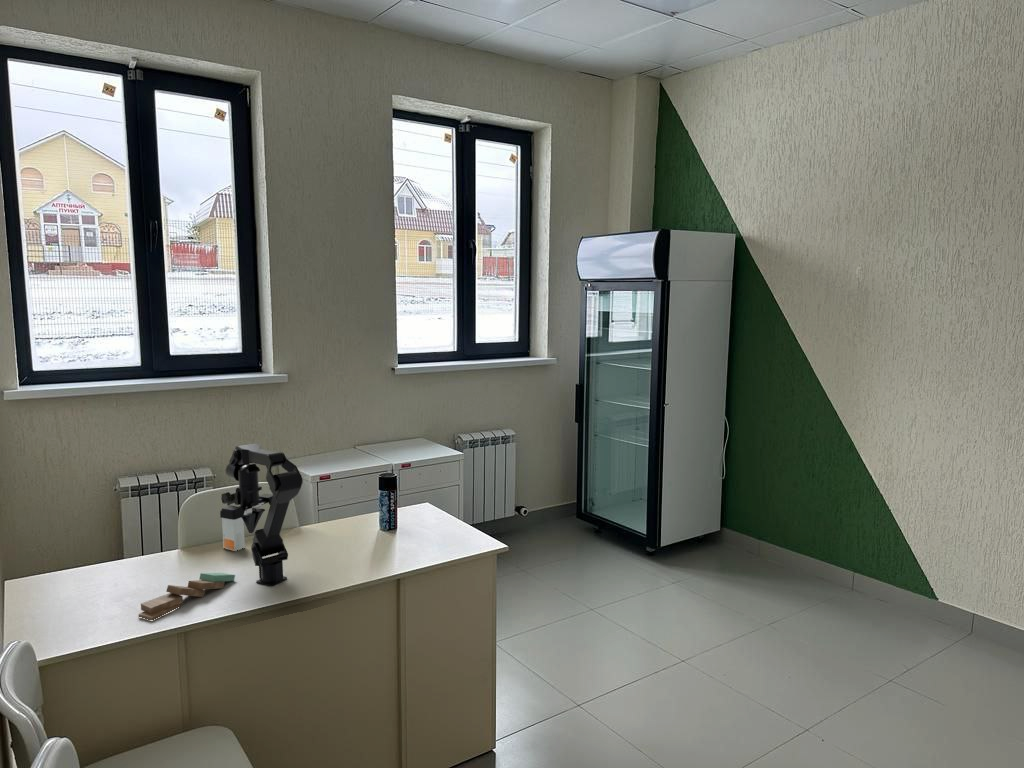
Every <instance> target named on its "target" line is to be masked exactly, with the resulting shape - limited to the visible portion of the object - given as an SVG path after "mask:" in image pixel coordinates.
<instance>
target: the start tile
mask: <svg viewBox="0 0 1024 768" xmlns="http://www.w3.org/2000/svg"><path fill="white" fill-rule="evenodd" d="M235 578H236V574H232V573H226V572H201V573H199V580H205V581H211V582H222V581H223V582H235Z"/></svg>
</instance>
